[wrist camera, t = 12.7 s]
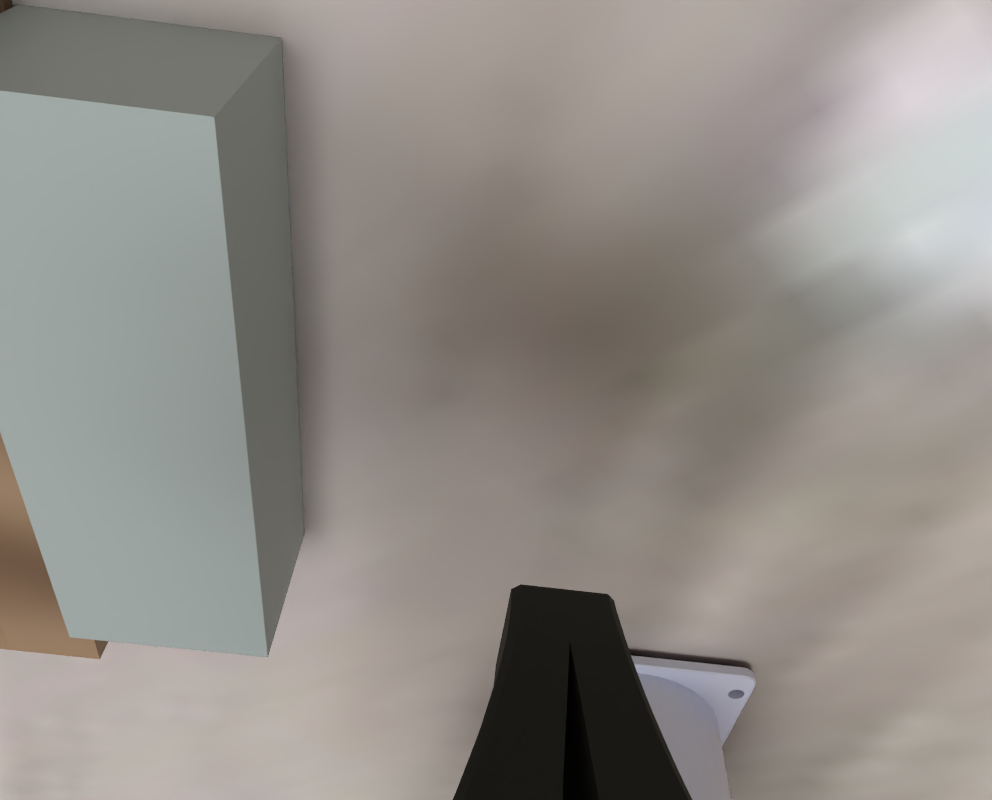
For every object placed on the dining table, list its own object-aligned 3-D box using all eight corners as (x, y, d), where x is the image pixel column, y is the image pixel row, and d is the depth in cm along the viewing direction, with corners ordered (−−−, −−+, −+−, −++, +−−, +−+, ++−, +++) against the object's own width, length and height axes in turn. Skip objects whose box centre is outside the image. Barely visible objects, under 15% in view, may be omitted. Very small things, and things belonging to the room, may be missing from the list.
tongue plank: (306, 527, 25) (267, 657, 21) (85, 503, 25) (9, 631, 21) (284, 34, 16) (214, 116, 13) (-56, -10, 16) (-223, 63, 13)
